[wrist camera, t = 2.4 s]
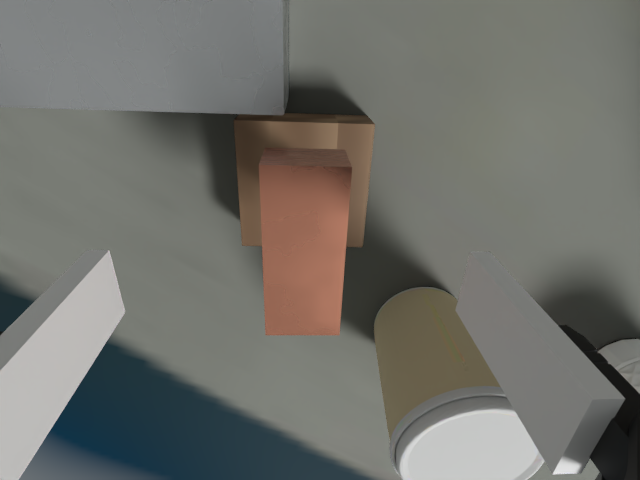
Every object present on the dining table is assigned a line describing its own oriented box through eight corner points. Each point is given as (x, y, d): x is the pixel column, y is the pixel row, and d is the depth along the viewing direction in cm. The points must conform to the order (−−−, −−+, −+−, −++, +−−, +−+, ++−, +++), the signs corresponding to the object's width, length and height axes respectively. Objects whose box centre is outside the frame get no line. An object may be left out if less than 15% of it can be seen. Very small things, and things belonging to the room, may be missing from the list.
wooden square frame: (367, 115, 24) (374, 124, 22) (357, 227, 28) (362, 247, 25) (241, 111, 24) (233, 120, 21) (248, 226, 27) (242, 245, 25)
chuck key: (331, 114, 24) (352, 167, 14) (325, 227, 28) (339, 335, 18) (277, 112, 24) (258, 165, 14) (279, 226, 28) (265, 335, 17)
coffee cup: (434, 374, 35) (490, 516, 25) (345, 345, 33) (364, 487, 23) (494, 299, 32) (592, 430, 21) (398, 261, 29) (452, 385, 19)
